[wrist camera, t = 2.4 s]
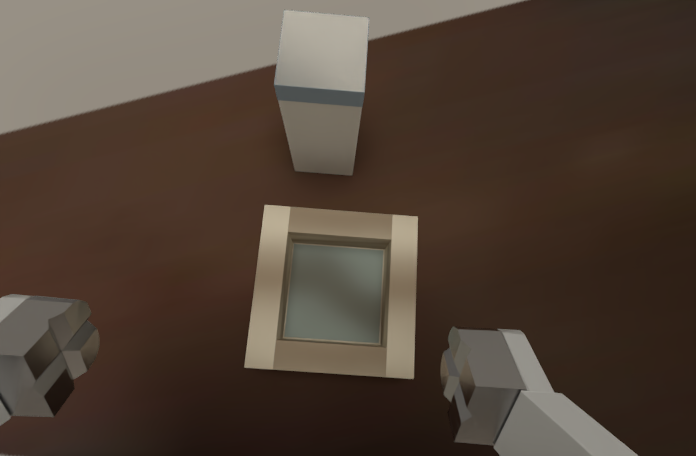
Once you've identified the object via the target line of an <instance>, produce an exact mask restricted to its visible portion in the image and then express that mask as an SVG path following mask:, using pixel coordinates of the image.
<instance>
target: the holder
mask: <svg viewBox="0 0 696 456" xmlns="http://www.w3.org/2000/svg"><path fill="white" fill-rule="evenodd" d="M417 233H418V217H416V216H403V215H390V214H377V213H364V212H351V211H338V210H325V209H312V208H299V207H286V206H273V205H265V207H264V215H263V223H262V231H261V239H260V247H259V255H258V262H257V270H256V278H255V286H254V294H253V302H252V310H251V318H250V326H249V333H248V341H247V349H246V357H245V365H244V368H257V369H272V370H287V371H302V372H316V373H331V374H346V375H361V376H376V377H390V378H405V379H414V353H415V313H416V273H417Z"/></svg>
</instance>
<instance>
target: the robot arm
mask: <svg viewBox="0 0 696 456" xmlns="http://www.w3.org/2000/svg"><path fill="white" fill-rule="evenodd" d="M90 315H91V311H90V309H89V306H88V304H87V302H84V301H81V300H74V299H63V298H52V297H42V296H26V295H16V294H10V295H7V296H4V297H2V298H0V425H2V424H3V423H5V422H6V421H7V420H9V419H10V418H11V416H39V417H54V416H55V415H56V414H57V412H58V411H59V409H60V408H61V407H62V405H63V404H64V403H65V401H66V400H67V398H68V397H69V396H70V394H71V393H72V391H73V390H74V389H75V388H74V379H75V378H76V377H78V376H80V375H81V374H83V373H85V372H86V371H88V369H89V368H90V366H91V365H92V363H93V362H94V360H95V358H96V355H97V352H98V349H99V334H98V331H97V328H96V327H94V326H93V325H92V324H91V323H90V322H88V321H87V320H88V318H89V317H90ZM448 341H449V345H450V348H449V349H447V350H446V351H445V352H444V353H443V357H442V361H441V371H440V376H441V385H442V390H443V394H444V395H445V396H446V398H447V399H448V400H449V401H450V402H451V404H450V407H449V410H448V417H449V421H450V426H451V430H452V434H453V438H454V442H461V443H472V444H483V445H494V449H495V450H496V451H497V453H498V454H499V455H500V456H638V455H637V454H636V453H634V452H633V451H632V450H631V449H629V448H628V447H627V446H626V445H625V444H623V443H622V442H621V441H620V440H618V439H617V438H616V437H615V436H613V435H612V434H611V433H610V432H609V431H607V430H606V429H605V428H604V427H602V426H601V425H600V424H599V423H598V422H596V421H595V420H594V419H593V418H591V417H590V416H589V415H588V414H586V413H585V412H584V411H583V410H582V409H580V408H579V407H578V406H577V405H575V404H574V403H573V402H572V401H570V400H569V399H568V398H567V397H566V396H564V395H563V394H562V393H554V391H553V389H552V387H551V385H550V383H549V381H548V379H547V377H546V375H545V373H544V371H543V369H542V367H541V365H540V364H539V362H538V360H537V358H536V356H535V354H534V352H533V350H532V348H531V346H530V344H529V342H528V340H527V338H526V336H525V334H524V333H523V332H522V331H520V330H509V329H490V328H474V327H457V326H453V328H452V329H451V330H450V333H449V336H448Z"/></svg>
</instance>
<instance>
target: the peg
mask: <svg viewBox="0 0 696 456" xmlns="http://www.w3.org/2000/svg"><path fill="white" fill-rule="evenodd" d="M368 30H369V17H359V16H349V15H337V14H326V13H314V12H304V11H293V10H284V13H283V21H282V28H281V36H280V44H279V52H278V59H277V67H276V74H275V82H274V87H275V91H276V95H277V99H278V101H279V105H280V110H281V114H282V118H283V122H284V127H285V131H286V135H287V139H288V143H289V148H290V152H291V156H292V160H293V165H294V169H295V171H300V172H312V173H325V174H337V175H350V176H352V175H353V167H354V160H355V153H356V146H357V139H358V132H359V125H360V117H361V110H362V106H363V99H364V92H365V77H366V61H367V46H368Z"/></svg>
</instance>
